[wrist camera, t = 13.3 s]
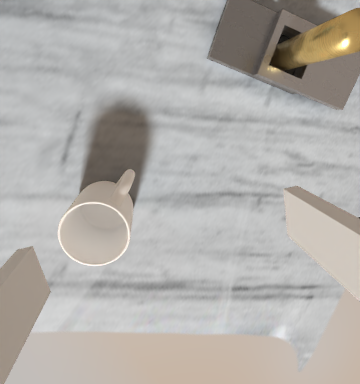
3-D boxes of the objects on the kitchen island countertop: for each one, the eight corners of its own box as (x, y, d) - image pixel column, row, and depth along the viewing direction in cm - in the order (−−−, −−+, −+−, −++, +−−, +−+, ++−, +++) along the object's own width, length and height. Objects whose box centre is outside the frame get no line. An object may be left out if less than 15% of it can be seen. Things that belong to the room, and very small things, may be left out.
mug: (110, 147, 41) (99, 160, 32) (158, 179, 43) (161, 200, 34) (66, 213, 43) (43, 244, 34) (114, 240, 45) (106, 277, 36)
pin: (269, 45, 40) (337, 11, 26) (294, 40, 40) (376, 4, 26) (271, 73, 41) (338, 55, 27) (295, 68, 41) (375, 48, 27)
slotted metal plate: (207, 58, 39) (211, 54, 37) (228, -5, 38) (235, -14, 35) (330, 109, 43) (343, 110, 41) (356, 55, 42) (371, 51, 39)
